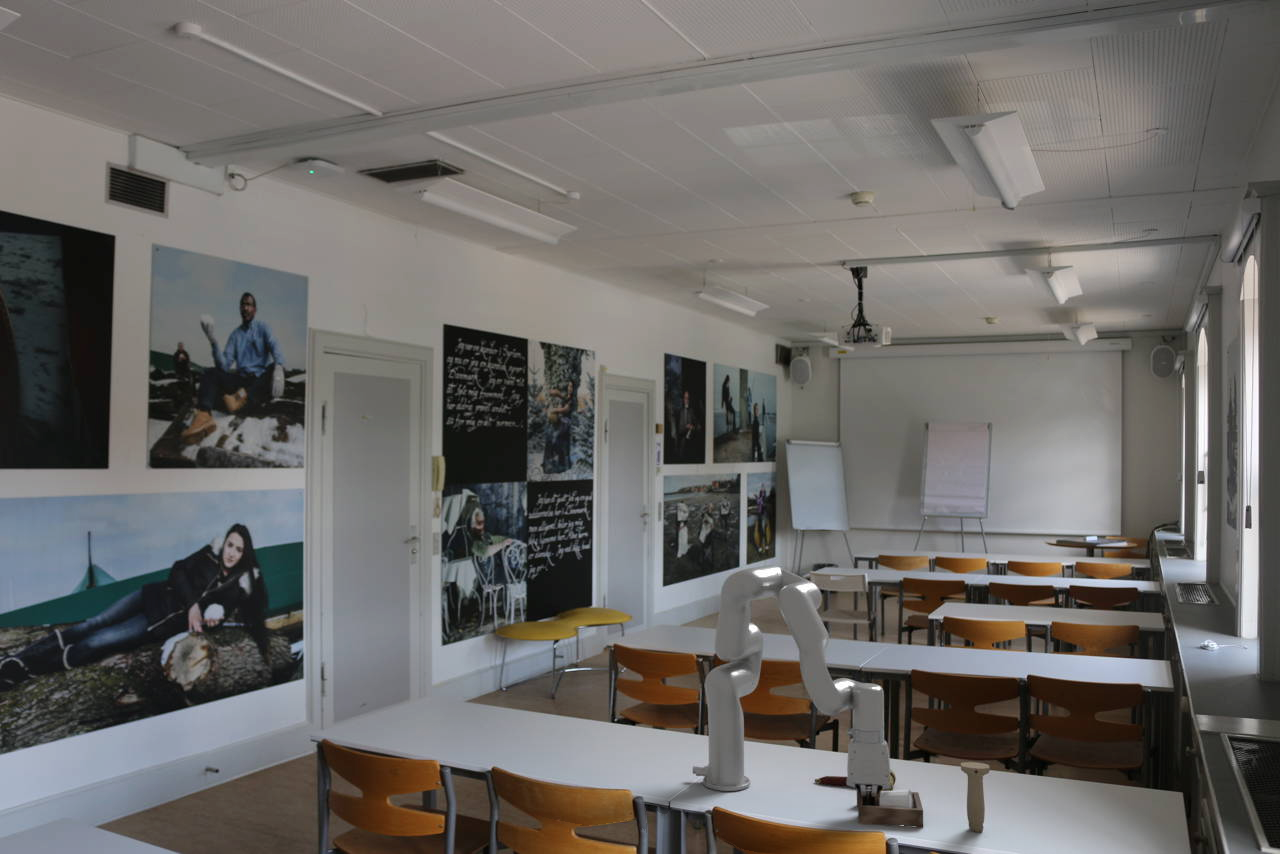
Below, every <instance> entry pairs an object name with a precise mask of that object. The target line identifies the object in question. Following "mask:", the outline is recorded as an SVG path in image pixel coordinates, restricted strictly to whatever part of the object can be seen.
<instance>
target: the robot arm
mask: <svg viewBox="0 0 1280 854" xmlns="http://www.w3.org/2000/svg"><path fill="white" fill-rule="evenodd" d="M768 598H769V599H770V598H773V599H775V600H776V603H777V606H778V609H779V611H780V613H781V615H782V617H783V619H784V622H785V623H786V625H787V627H788V630H789V632H790V634H791V636H792V638H793V640H794V642H795V644H796V647H797V650H798V654H799V655H798V656H799V657H798V658H799V661H798V662H799V667H800V674H801V679H802V681H803V684H804V687H805V689H806V691H807V693H808V695H809V697H810V699H811V701H812V703H813V705H814V706H815V708H817V710H818V711H820V712H821V713H822V714H824V715H827V716H834V715H837V714H840V713H842V712H844V711H847V710H850V709H852V727H851V728H850V729H846V736H850V737H851V738H850V740H849V744H848V751H847V771H846V773H847V776H846V777H847V781H846V784H847V785H848V786H851V787H850V788H855V789H856V791H857V790H858V791H859V792H860V793H861V794H862V805H868V806H875V796H876V794H878V793H879V792H880V791H881V790H882V789H888V788H891V783H890V770H891V763H890V749H889V746H888V742H887V741H886V739H885V692H884V688H883V687H882V686H881V685H878V684H876V683H872V682H871V683H869V682H860V681H857V680H853V679H850V678H846V677H841V678H837V679H835V680H833V679H832V676H831V675H830V672H829V669H828V667H827V663H826V662H827V660H826V652H827V647H828V643H829V642H830V641H829V639H830V635H829V632H828V630H827V628H826V627H825V625H824V623H823V621H822V618H821V617H820V614H819V613H818V610H819V608H820V607H821V605H822V602H823V595H822V592H821V590H820V589H819V587H818V586H817V585H816V584H815V583H813V582H812V581H810V580H808V579H806V578H803V576H799V575H798V574H795V573H792V572H790V571H788V570H786V569H783V568H782V567H778V566H776V565H763V566H757V567H756V566H755V567H749V568H746V569H742V570H738V571H735V572H733V573H732V574H730V575H729V576H728V577H727V578H726V579H725V580H724V581H723V584H722V586H721V590H720V599H719V600H720V602H719V612H718V617H717V625H716V633H715V640H714V652H715V654H716V656H717V657H718V658H719V659H720V660H721V661H723V662H727V663H725V664H721V665H719V666H716V667H714V668H713V669H712V670H710V672H708V674H707V676H706V678H705V681H704V691H705V696H706V697H705V698H706V702H707V703H706V705H707V713H708V714H707V715H708V716H707V717H708V718H707V719H708V720H707V722H708V724H707V725H708V764H707V765H704V766H694V765H693V766H692V774H693V775H695V776H696V777H703V779H702V784H703V785H704V786H705V787H706V788H708V789H711V790H713V791H714V790H715V791H719V792H720V791H721V792H735V791H741V790H745V789H747V788H749V787H750V785H751V779H750V778H749V777H747V776H746V775H745V725H744V724H745V721H744V717H745V716H744V710H743V708H742V705H741V701H740V698H743V697H745V696H748V695H750V694H752V693H753V692H754V691H755V690H756V688H757V687H758V684H759V680H760V676H761V675H760V674H761V668H762V660H763V653H764V637H763V633H762V631H761V630H760V628H759V627H758V626H757V625H756V624H754V623H752V622H750V621H751V616H752V613H751V610H752V609H751V606H750V602H753V601H759V600H763V599H764V600H765V599H768ZM865 785H872V786H871V787H870V790H871V791H870V794H869V797H868V793H867V790H868V789H867V787H865ZM866 789H867V790H866Z"/></svg>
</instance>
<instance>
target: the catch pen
mask: <svg viewBox="0 0 1280 854" xmlns="http://www.w3.org/2000/svg"><path fill="white" fill-rule="evenodd" d="M866 790H867V793H868V797H869V794H870V791H871V789H868V788H866ZM881 791H885V790H881ZM881 791H880V792H879V793H878V794H876V796H875V806H868V805H862V794H861V793H860V792H859V791H858V790H857V789H856V807H857V823H858V824H861V825H878V826H890V825H904V826H903V827H906V826H917V827H916V828H922V827H923V828H924V809H923V806H922V805H923V804H922V802H921V801H922V800H921V797H920V794H919V792H917V791H911V792H912V796H913V804H914V808H902V807H885V806H880V802H879V799H880V793H881Z"/></svg>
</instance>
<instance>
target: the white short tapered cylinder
mask: <svg viewBox="0 0 1280 854" xmlns="http://www.w3.org/2000/svg"><path fill="white" fill-rule="evenodd" d="M912 792H913V791H912V790H911V789H900V790H899V789H898V790H893V791H881V793H880V799H879V802H880V806H885V807H902V808H914V804H913V796H912Z"/></svg>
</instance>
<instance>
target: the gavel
mask: <svg viewBox="0 0 1280 854" xmlns="http://www.w3.org/2000/svg"><path fill="white" fill-rule="evenodd" d="M847 777H848V776H838V775H837V776H836V775H831V776H830V775H826V776H822V777H819V778H815V779H814V783H816V784H817V783H818V784H820V785H824V786H830V785H831V787H832V786H833V787H844V786H847V788H852V787H851V786H848V785H847V784H846V781H847ZM896 780H897V778H896V774H895V772H894V771H893V770H892V769H890V783H891V788H888V789H882V790H885V791H894V785H895V784H896ZM871 786H872V785H865V787H866V788H871Z"/></svg>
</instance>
